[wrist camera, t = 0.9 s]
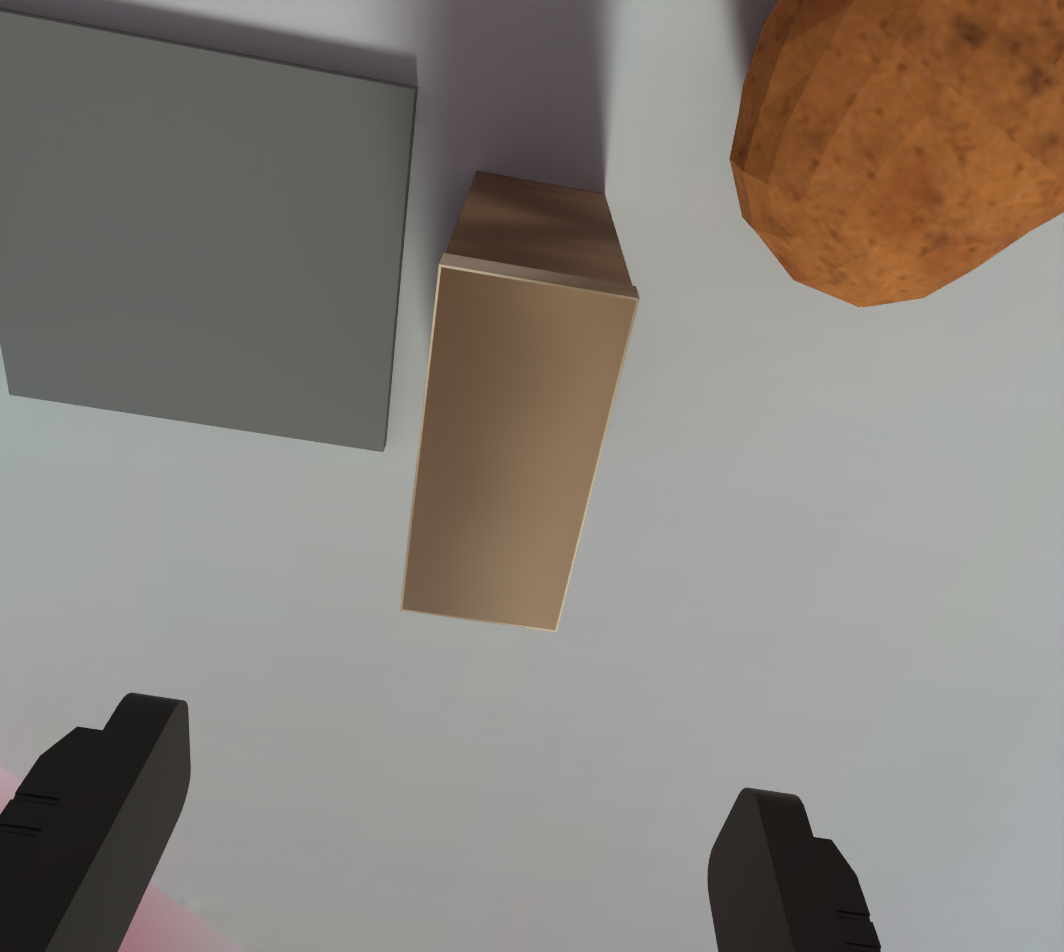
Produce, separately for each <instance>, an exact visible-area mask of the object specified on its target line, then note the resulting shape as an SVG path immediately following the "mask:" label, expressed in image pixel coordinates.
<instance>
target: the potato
mask: <svg viewBox="0 0 1064 952" xmlns="http://www.w3.org/2000/svg"><path fill="white" fill-rule="evenodd" d="M730 162H731V167H732V171H733V176H734V180H735V185H736V190H737V194H738V199H739V203H740V208H741V212H742V217H743V218H744V219H745V220H746V221H747V223H748V224H749V225H750V226H751V227H752V228H753V229H754V230H755V231H756V233H757V234H758V235H759V236H760V238H761V239H762V240H763V241H764V243H765V244H766V245H767V247H768V248H769V249H770V250H771V252H772V253H773V254H774V255H775V257H776V258H777V259H778V261H779V262H780V263H781V264H782V266H783V267H784V268H785V270H786V271H787V272H788V273H789V275H790V276H791V277H792V278H793V280H795V281H797V282H799V283H802V284H804V285H807V286H809V287H812V288H814V289H816V290H819V291H821V292H824V293H826V294H829V295H831V296H833V297H836V298H838V299H841V300H843V301H846V302H848V303H850V304H853V305H855V306H858V307H868V306H875V305H881V304H888V303H894V302H900V301H907V300H913V299H920V298H924V297H926V296H928V295H929V294H931V293H933V292H935V291H937V290H938V289H940V288H942V287H944V286H945V285H947V284H949V283H951V282H952V281H954V280H956V279H958V278H959V277H961V276H963V275H965V274H966V273H968V272H970V271H972V270H974V269H975V268H977V267H978V266H980V265H981V264H983V263H984V262H985V261H987V260H988V259H990V258H991V257H993V256H994V255H996V254H997V253H999V252H1000V251H1002V250H1003V249H1005V248H1006V247H1007V246H1009V245H1010V244H1012V243H1013V242H1015V241H1016V240H1018V239H1019V238H1021V237H1022V236H1024V235H1025V234H1027V233H1028V232H1030V231H1031V230H1033V229H1035V228H1037V227H1039V226H1040V225H1042V224H1044V223H1046V222H1047V221H1049V220H1051V219H1053V218H1054V217H1056V216H1058V215H1060V214H1061V213H1063V212H1064V0H777V2H776V4H775V5H774V7H773V9H772V11H771V12H770V14H769V16H768V18H767V19H766V21H765V23H764V25H763V28H762V31H761V34H760V37H759V40H758V43H757V46H756V49H755V52H754V55H753V58H752V61H751V64H750V67H749V70H748V73H747V76H746V78H745V81H744V84H743V89H742V96H741V102H740V108H739V115H738V120H737V125H736V130H735V135H734V140H733V145H732V150H731V155H730Z"/></svg>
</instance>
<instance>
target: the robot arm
mask: <svg viewBox="0 0 1064 952" xmlns="http://www.w3.org/2000/svg"><path fill="white" fill-rule="evenodd" d="M190 773H191V766H190V741H189V717H188V705H187V703H186V701H184V700H177V699H171V698H164V697H158V696H151V695H144V694H138V693H129V694H127V695H126V696H125V697H124V698H123V699H122V700H121V702H120V703H119V705H118V706H117V708H116V709H115V711H114V713H113V714H112V716H111V718H110V719H109V721H108V722H107V724H106V726H105V727H104V729H103V730H97V729H90V728H83V727H76V728H75V729H74V730H72V731H71V732H70V733H69V734H67V735H66V736H65V737H63V738H62V739H61V740H60V741H58V742H57V743H56V744H54V745H53V746H52V747H51V748H49V749H48V750H47V751H46V752H44V753H43V754H42V755H40V757H39V758H38V760H37V761H36V763H35V764H34V766H33V767H32V769H31V770H30V771H29V773H28V774H27V776H26V777H25V779H24V780H23V782H22V783H21V785H20V786H19V788H18V789H17V791H16V793H15V797H14V799H13V800H10V801H9V802H8V804H7V806H6V807H5V809H4V810H3V811H2V813H1V814H0V952H118V950H119V947H120V945H121V943H122V941H123V938H124V937H125V934H126V932H127V930H128V928H129V925H130V923H131V921H132V919H133V917H134V915H135V912H136V910H137V908H138V906H139V904H140V901H141V899H142V897H143V895H144V893H145V891H146V888H147V886H148V884H149V882H150V880H151V877H152V875H153V873H154V871H155V869H156V867H157V864H158V862H159V860H160V858H161V856H162V853H163V851H164V849H165V847H166V845H167V843H168V840H169V838H170V836H171V834H172V832H173V829H174V827H175V825H176V823H177V821H178V818H179V816H180V814H181V811H182V808H183V805H184V802H185V799H186V795H187V791H188V787H189V781H190ZM708 893H709V899H710V905H711V911H712V917H713V923H714V929H715V934H716V940H717V946H718V952H880V949H881V945H880V942H879V939H878V936H877V933H876V930H875V928H874V925H873V922H870V919H869V916H870V913H869V910H868V907H867V904H866V901H865V898H864V895H863V892H862V890H861V887H860V884H859V881H858V878H857V875H856V874H855V872H854V871H853V870H852V868H851V867H850V865H849V864H848V863H847V861H846V860H845V858H844V857H843V855H842V854H841V853H840V851H839V850H838V848H837V847H836V846H835V844H834V843H833V841H832V840H830V839H823V838H816V837H813V833H812V830H811V827H810V824H809V820H808V817H807V814H806V811H805V808H804V805H803V803H802V801H801V800H800V798H799V797H798V796H796V795H793V794H787V793H780V792H773V791H767V790H760V789H754V788H744V789H743V790H742V791H741V792H740V794H739V795H738V797H737V799H736V801H735V803H734V805H733V807H732V809H731V811H730V813H729V815H728V817H727V819H726V821H725V823H724V825H723V827H722V829H721V831H720V833H719V835H718V838H717V840H716V842H715V844H714V846H713V848H712V851H711V854H710V858H709V865H708Z"/></svg>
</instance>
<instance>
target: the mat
mask: <svg viewBox="0 0 1064 952" xmlns="http://www.w3.org/2000/svg"><path fill="white" fill-rule="evenodd" d="M417 89H418V87H413V86H407V85H402V84H397V83H391V82H386V81H381V80H376V79H370V78H365V77H360V76H354V75H349V74H344V73H338V72H333V71H328V70H323V69H317V68H312V67H307V66H301V65H296V64H291V63H285V62H280V61H275V60H270V59H264V58H259V57H254V56H248V55H243V54H238V53H232V52H227V51H222V50H217V49H211V48H206V47H201V46H195V45H190V44H185V43H179V42H174V41H169V40H164V39H158V38H153V37H148V36H142V35H137V34H132V33H126V32H121V31H116V30H111V29H105V28H100V27H95V26H89V25H84V24H79V23H73V22H68V21H63V20H58V19H52V18H47V17H42V16H36V15H31V14H26V13H20V12H15V11H10V10H5V9H0V344H1V349H2V355H3V360H4V366H5V371H6V377H7V383H8V388H9V394H10V395H15V396H22V397H28V398H35V399H41V400H48V401H54V402H61V403H67V404H74V405H80V406H87V407H93V408H100V409H106V410H113V411H119V412H126V413H132V414H139V415H145V416H152V417H159V418H165V419H172V420H178V421H185V422H191V423H198V424H204V425H211V426H217V427H224V428H230V429H237V430H243V431H250V432H256V433H263V434H269V435H276V436H282V437H289V438H295V439H302V440H308V441H315V442H321V443H328V444H334V445H341V446H347V447H354V448H360V449H367V450H373V451H380V452H383V451H384V448H385V445H386V439H387V427H388V416H389V405H390V394H391V382H392V371H393V360H394V348H395V337H396V326H397V314H398V303H399V292H400V281H401V269H402V258H403V247H404V235H405V224H406V213H407V202H408V190H409V179H410V168H411V156H412V145H413V134H414V123H415V111H416V100H417Z"/></svg>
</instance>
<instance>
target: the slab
mask: <svg viewBox="0 0 1064 952" xmlns="http://www.w3.org/2000/svg"><path fill="white" fill-rule="evenodd" d="M639 299H640V298H639V295H638V292H637V288H636V286H632V283H631V280H630V277H629V273H628V270H627V267H626V263H625V260H624V257H623V253H622V250H621V247H620V243H619V240H618V237H617V233H616V230H615V227H614V223H613V220H612V217H611V213H610V210H609V207H608V203H607V200H606V197H605V194H601V193H596V192H590V191H585V190H579V189H574V188H568V187H563V186H557V185H552V184H546V183H541V182H535V181H530V180H524V179H519V178H513V177H508V176H502V175H497V174H491V173H486V172H480V171H476V174H475V177H474V180H473V182H472V185H471V188H470V190H469V193H468V196H467V198H466V201H465V204H464V207H463V209H462V212H461V215H460V217H459V220H458V223H457V226H456V228H455V231H454V234H453V236H452V239H451V242H450V244H449V247H448V250H447V253H443V255H442V257H441V260H440V263H439V268H438V277H437V286H436V295H435V304H434V313H433V322H432V330H431V339H430V348H429V357H428V366H427V375H426V384H425V393H424V402H423V410H422V419H421V428H420V437H419V446H418V455H417V464H416V473H415V482H414V490H413V499H412V508H411V517H410V526H409V535H408V544H407V553H406V562H405V570H404V579H403V588H402V597H401V606H400V610H402V611H409V612H416V613H423V614H431V615H438V616H445V617H452V618H460V619H467V620H474V621H481V622H488V623H496V624H503V625H510V626H517V627H525V628H532V629H539V630H546V631H553V632H557V630H558V626H559V622H560V618H561V614H562V610H563V606H564V601H565V597H566V593H567V589H568V585H569V581H570V577H571V573H572V569H573V565H574V561H575V557H576V553H577V549H578V545H579V541H580V537H581V533H582V529H583V525H584V521H585V517H586V513H587V509H588V505H589V501H590V497H591V493H592V489H593V485H594V481H595V477H596V473H597V469H598V464H599V460H600V456H601V452H602V448H603V444H604V440H605V436H606V432H607V428H608V424H609V420H610V416H611V412H612V408H613V404H614V400H615V396H616V392H617V388H618V384H619V380H620V376H621V372H622V368H623V364H624V360H625V356H626V352H627V348H628V344H629V340H630V336H631V332H632V327H633V323H634V319H635V315H636V311H637V307H638V303H639Z"/></svg>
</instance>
